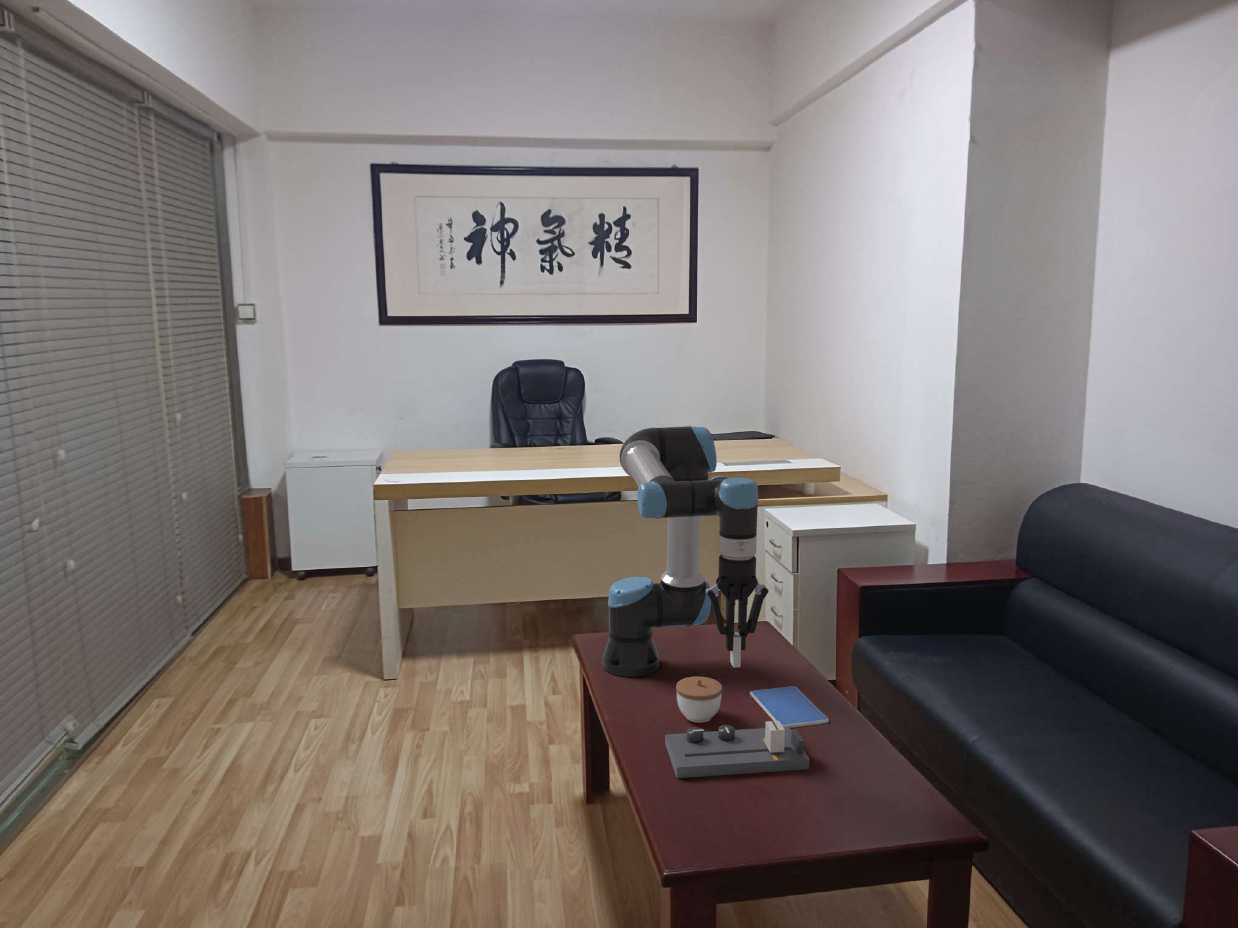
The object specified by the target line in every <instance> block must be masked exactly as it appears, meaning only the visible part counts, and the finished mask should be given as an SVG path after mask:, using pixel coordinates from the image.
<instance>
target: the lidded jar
mask: <svg viewBox="0 0 1238 928" xmlns="http://www.w3.org/2000/svg"><path fill="white" fill-rule="evenodd" d="M675 686H676V687H675V689H676V690H675V691H676V703H677V707H678V708H679V711H680V712H681V714H683V716H684V717H685V718H686V720H688V721H690V722H692V723H697V724H700V723H701V724H703V723H707V722H710V721H711V720H712V719H713V717H714V716H715V715H716V714H717V713H718V711H719V709H720V707H721V704H722V693H723V685H722V684H721V682H719V681H718V680H716V679H713V678H711V677H708V676H707V677H706V676H689V677H684V678H682V679H680V680H679V681H678V682H677V683H676V685H675Z"/></svg>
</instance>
